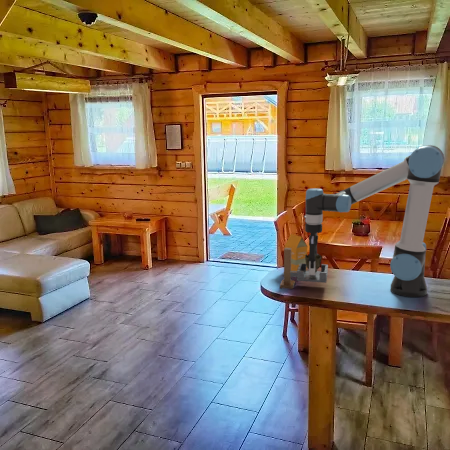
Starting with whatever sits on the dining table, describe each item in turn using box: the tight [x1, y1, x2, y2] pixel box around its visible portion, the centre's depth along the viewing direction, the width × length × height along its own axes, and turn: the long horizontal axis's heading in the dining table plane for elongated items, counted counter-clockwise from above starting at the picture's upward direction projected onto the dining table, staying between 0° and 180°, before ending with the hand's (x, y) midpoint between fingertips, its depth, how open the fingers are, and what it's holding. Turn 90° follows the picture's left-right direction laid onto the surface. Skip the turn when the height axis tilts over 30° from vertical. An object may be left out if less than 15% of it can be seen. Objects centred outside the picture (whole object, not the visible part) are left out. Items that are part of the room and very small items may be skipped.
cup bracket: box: [279, 247, 329, 290], centre depth 205 cm, size 21×13×18 cm, turn 74°
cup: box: [305, 253, 322, 273], centre depth 203 cm, size 8×7×8 cm
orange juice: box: [284, 233, 308, 271], centre depth 225 cm, size 8×9×20 cm
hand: (312, 272), depth 204 cm, fingers closed on cup, 7 cm apart
